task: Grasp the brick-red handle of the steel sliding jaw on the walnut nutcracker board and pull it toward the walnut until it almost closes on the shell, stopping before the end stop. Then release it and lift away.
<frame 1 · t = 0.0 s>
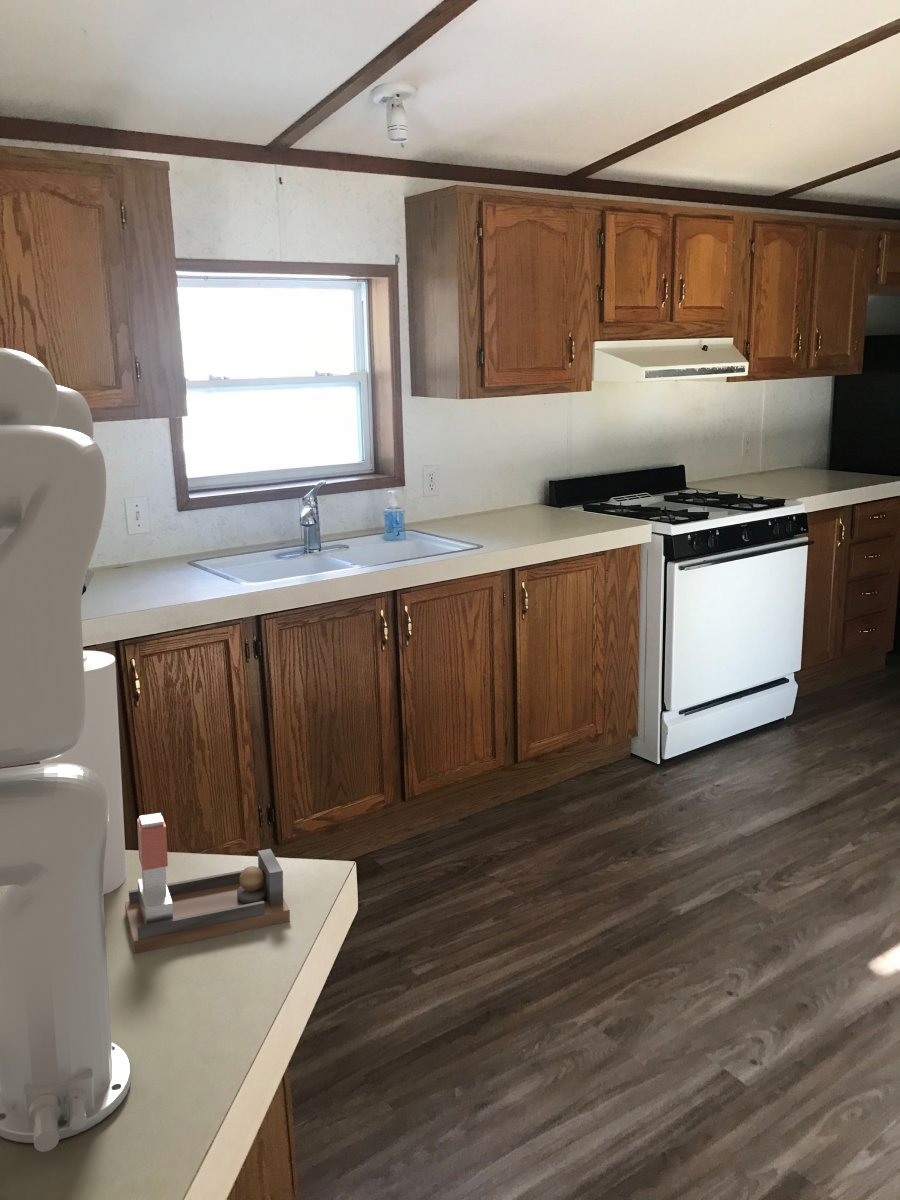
hand: (23, 638, 121), 31 cm above the countertop, tool pointing down, fingers open, 9 cm apart
cylinder container: (88, 881, 125), on the countertop
nutcracker board: (207, 917, 118), on the countertop
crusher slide: (153, 866, 113), point 8 cm above the countertop, slide at 0.0 cm
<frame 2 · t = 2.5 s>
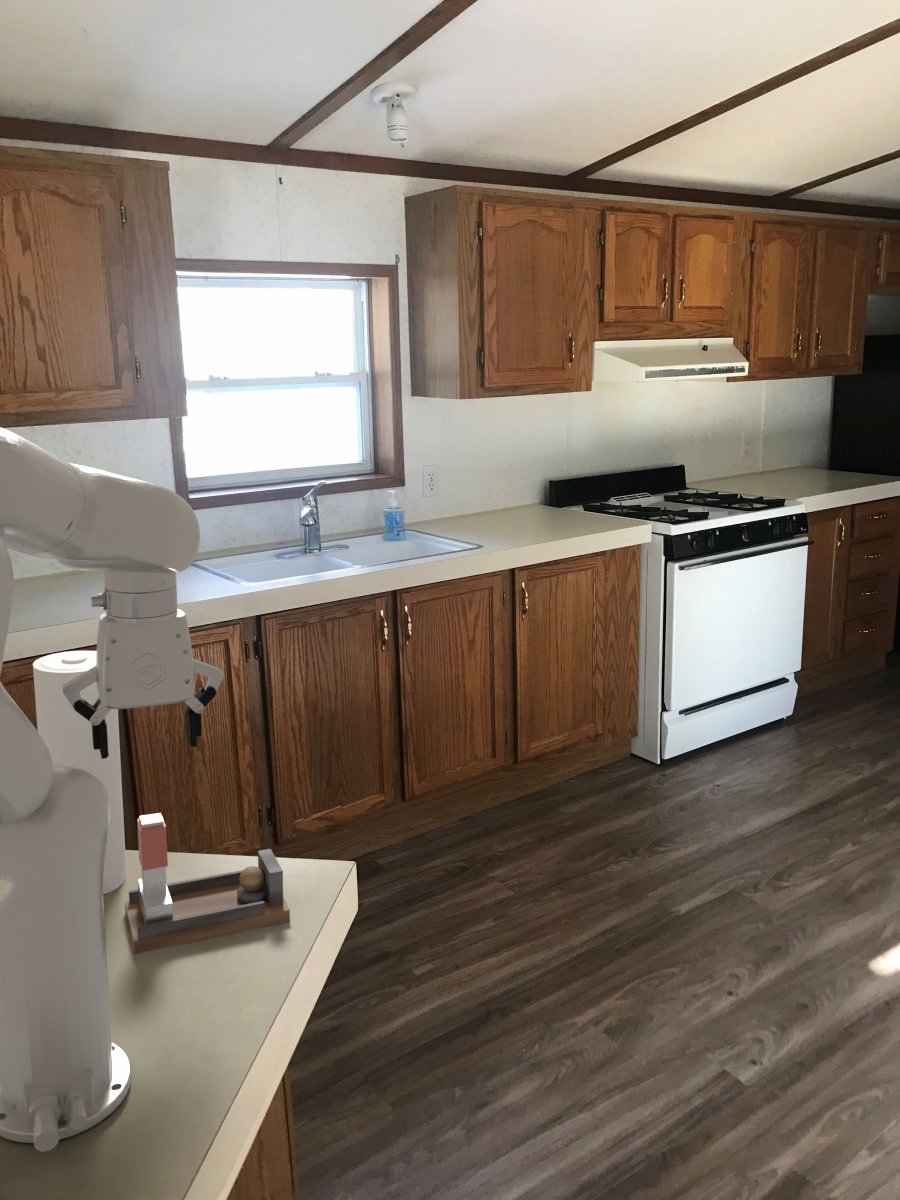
hand: (148, 748, 110), 23 cm above the countertop, tool pointing down, fingers open, 9 cm apart
nothing on the countertop moved.
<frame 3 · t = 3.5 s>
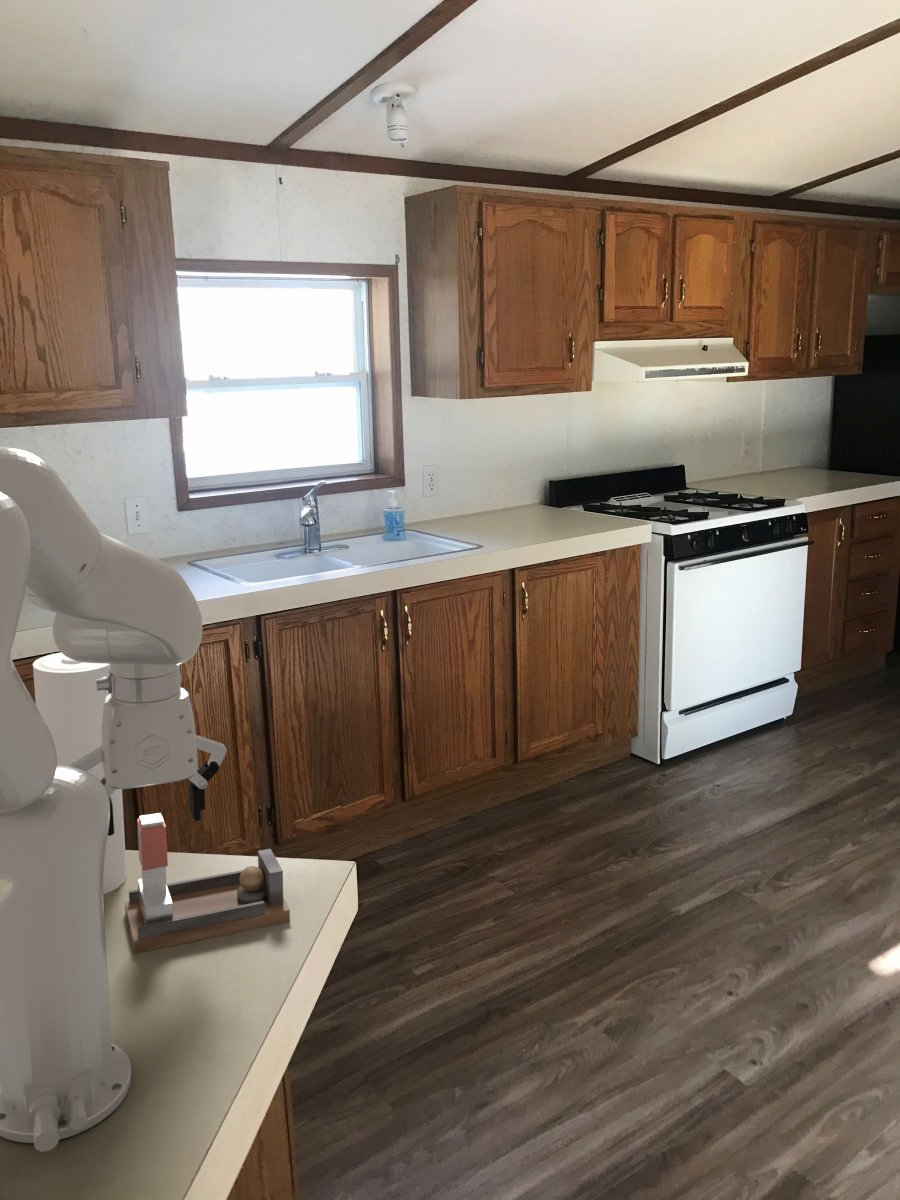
hand: (153, 823, 113), 13 cm above the countertop, tool pointing down, fingers open, 9 cm apart
nothing on the countertop moved.
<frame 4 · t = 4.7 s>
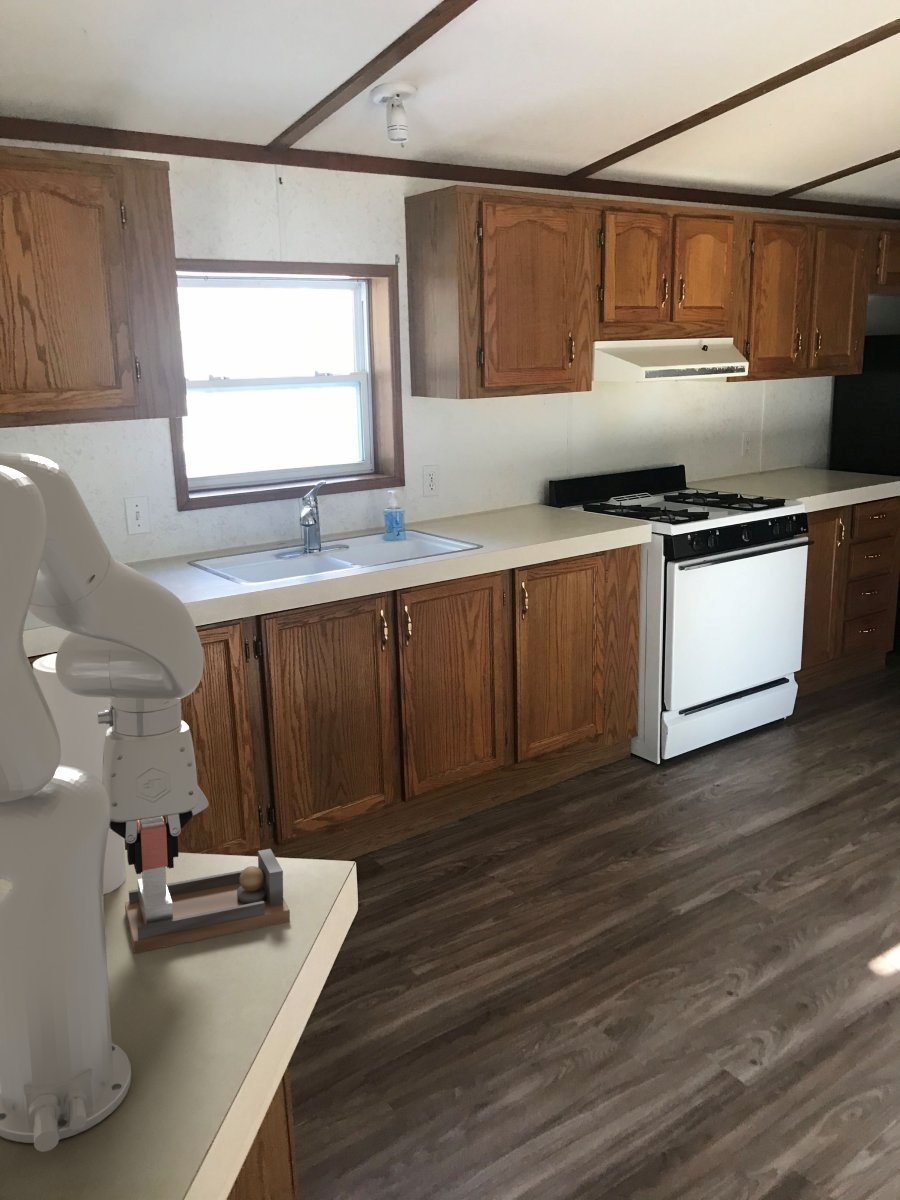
hand: (153, 864, 113), 8 cm above the countertop, tool pointing down, fingers closed on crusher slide, 2 cm apart
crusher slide: (153, 866, 113), point 8 cm above the countertop, slide at 0.0 cm, touching gripper
everything else where it was.
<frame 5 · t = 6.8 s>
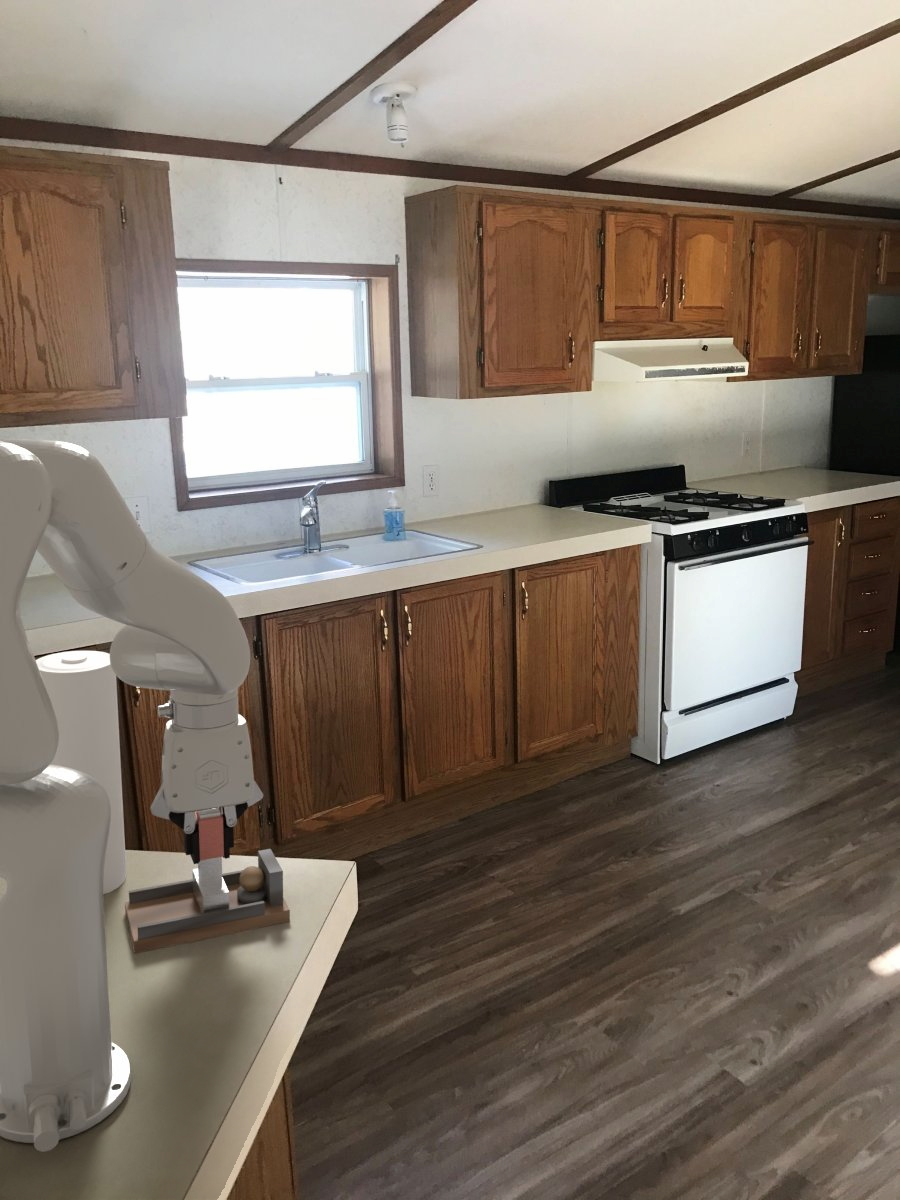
hand: (209, 854, 116), 8 cm above the countertop, tool pointing down, fingers closed on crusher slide, 2 cm apart
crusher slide: (209, 857, 116), point 8 cm above the countertop, slide at 6.5 cm, touching gripper
everything else where it was.
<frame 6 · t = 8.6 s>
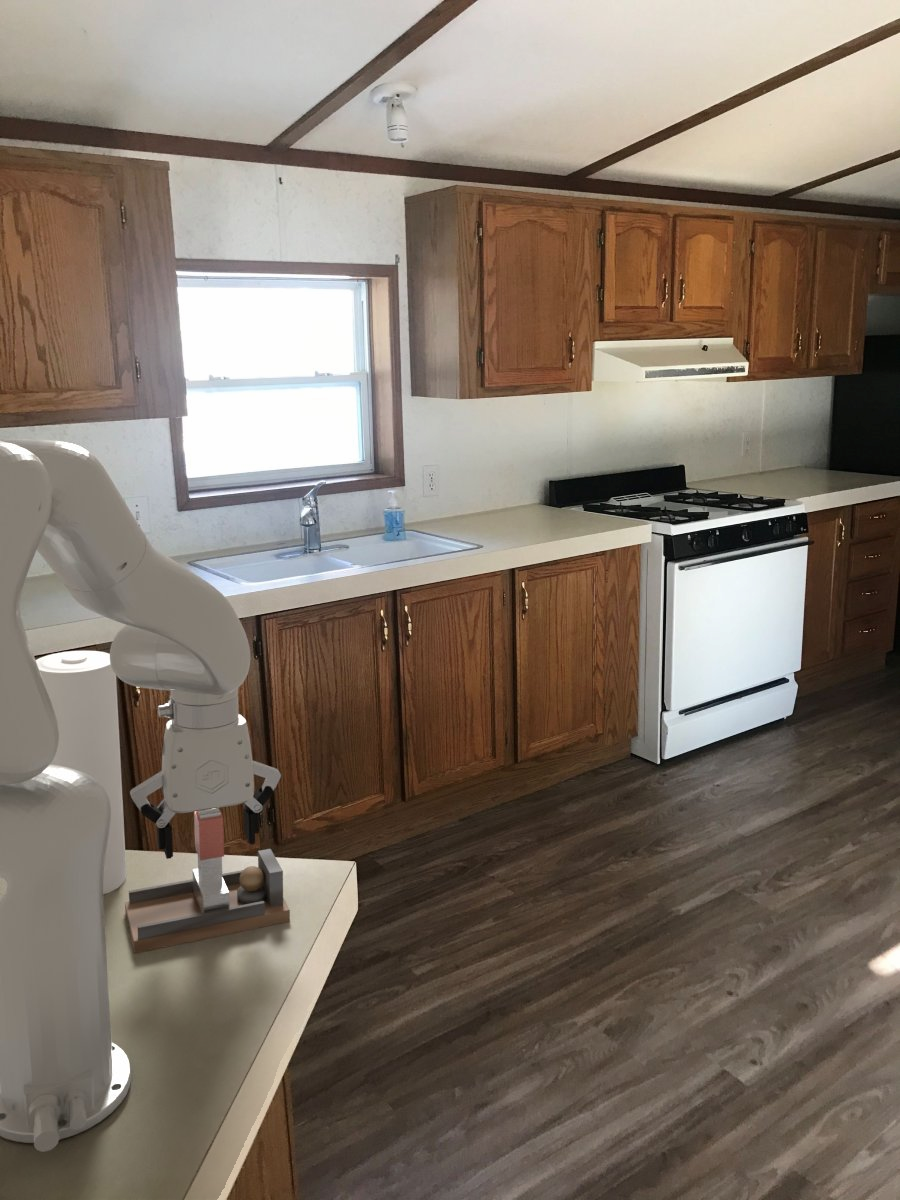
hand: (209, 846, 116), 9 cm above the countertop, tool pointing down, fingers open, 9 cm apart
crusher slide: (209, 857, 116), point 8 cm above the countertop, slide at 6.5 cm
everything else where it was.
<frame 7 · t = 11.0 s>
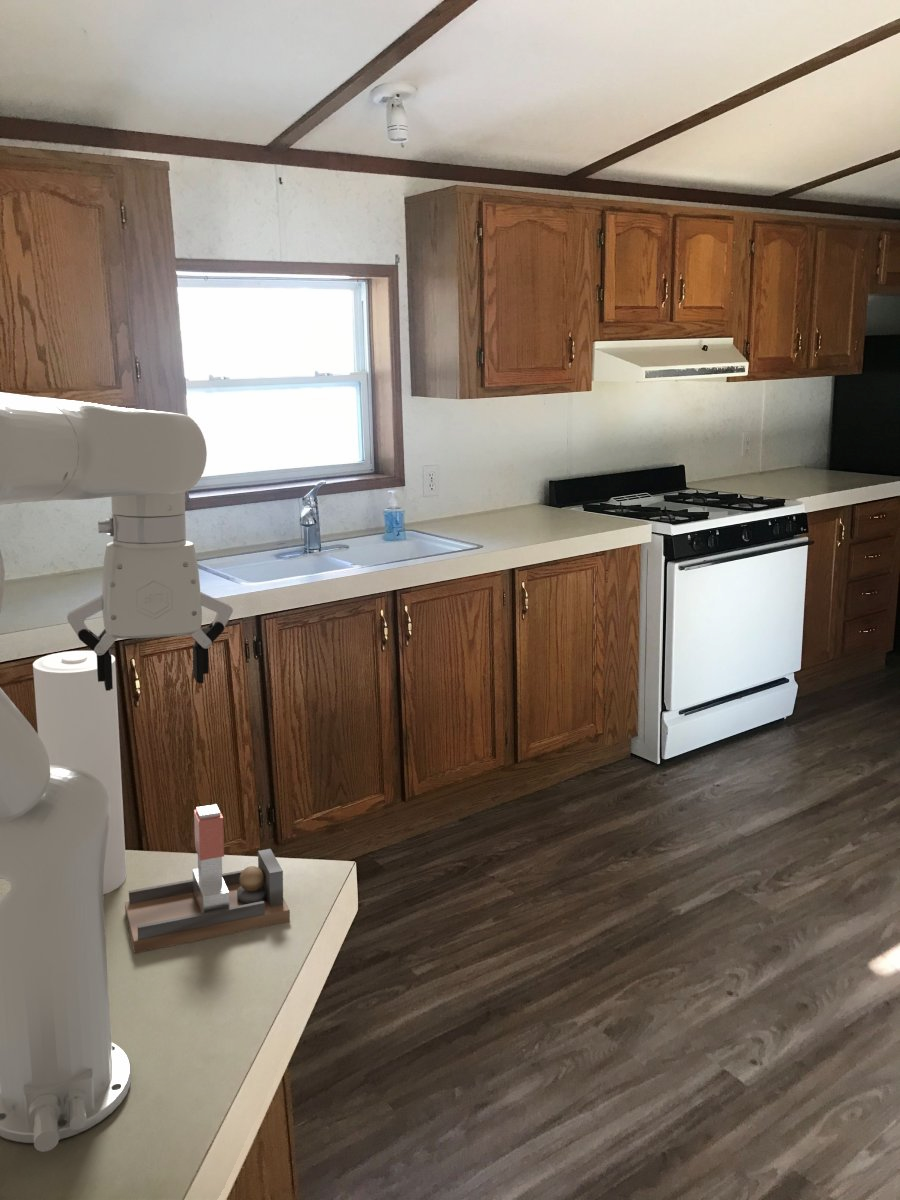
hand: (154, 683, 108), 31 cm above the countertop, tool pointing down, fingers open, 9 cm apart
nothing on the countertop moved.
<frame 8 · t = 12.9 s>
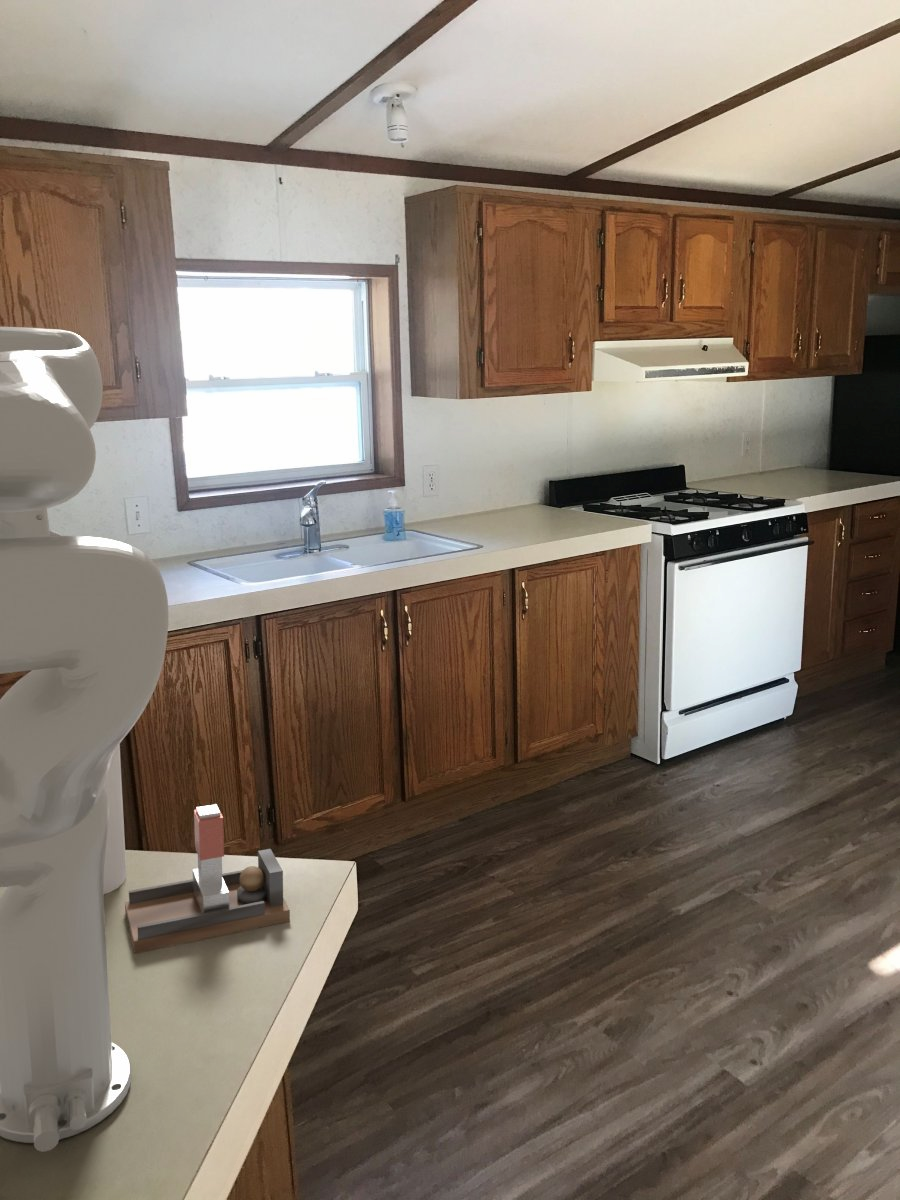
hand: (2, 630, 99), 38 cm above the countertop, tool pointing down, fingers open, 9 cm apart
nothing on the countertop moved.
at the end: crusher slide slide at 6.5 cm; the gripper is holding nothing; cylinder container moved 0.2 cm from its start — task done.
